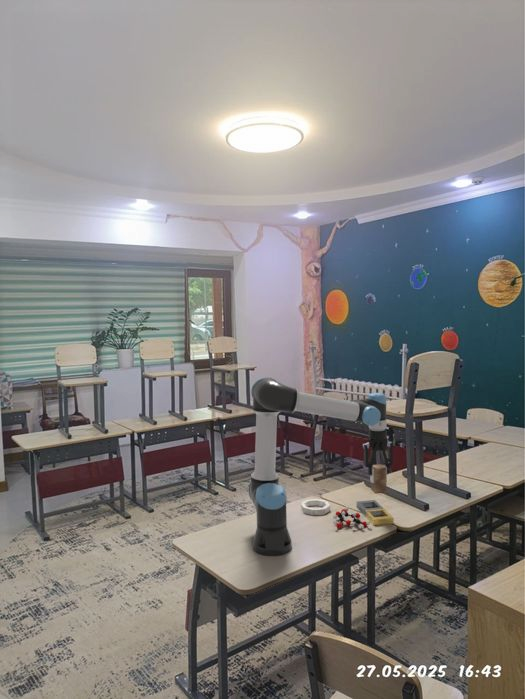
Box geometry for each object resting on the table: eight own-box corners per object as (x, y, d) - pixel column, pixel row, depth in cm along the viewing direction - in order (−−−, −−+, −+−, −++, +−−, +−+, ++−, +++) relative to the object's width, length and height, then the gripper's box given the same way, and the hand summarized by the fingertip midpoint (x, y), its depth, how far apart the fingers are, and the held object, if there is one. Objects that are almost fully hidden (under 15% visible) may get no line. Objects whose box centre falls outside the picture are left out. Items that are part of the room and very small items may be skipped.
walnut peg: (375, 493, 211) (375, 468, 210) (371, 489, 216) (370, 465, 215) (386, 492, 212) (386, 467, 211) (381, 488, 216) (381, 464, 216)
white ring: (305, 516, 220) (305, 510, 220) (299, 505, 232) (299, 500, 232) (332, 513, 222) (332, 508, 222) (324, 503, 234) (324, 498, 234)
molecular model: (335, 516, 219) (369, 510, 216) (338, 540, 209) (373, 535, 206) (330, 501, 214) (364, 496, 211) (332, 526, 203) (368, 520, 201)
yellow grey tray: (373, 525, 208) (373, 519, 208) (356, 506, 229) (356, 501, 229) (393, 523, 210) (393, 517, 210) (374, 505, 230) (374, 499, 230)
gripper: (360, 432, 207) (361, 486, 208) (401, 429, 209) (401, 482, 211) (354, 428, 214) (355, 480, 216) (393, 425, 217) (394, 477, 218)
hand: (378, 481), depth 213 cm, fingers closed on walnut peg, 5 cm apart
